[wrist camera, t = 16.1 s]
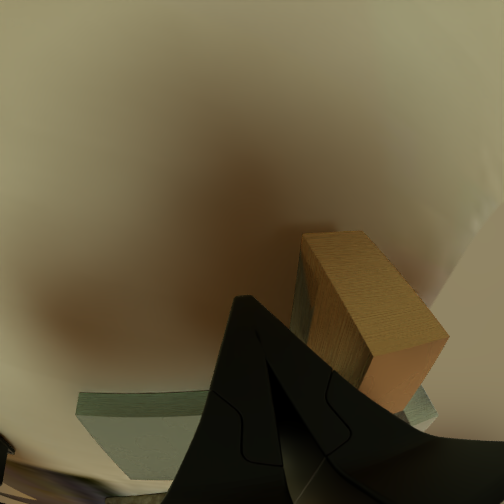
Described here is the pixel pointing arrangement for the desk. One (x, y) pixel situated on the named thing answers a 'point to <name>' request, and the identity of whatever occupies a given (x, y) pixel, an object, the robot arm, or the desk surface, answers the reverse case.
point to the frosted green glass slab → (173, 427)
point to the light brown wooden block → (364, 317)
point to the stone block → (136, 499)
